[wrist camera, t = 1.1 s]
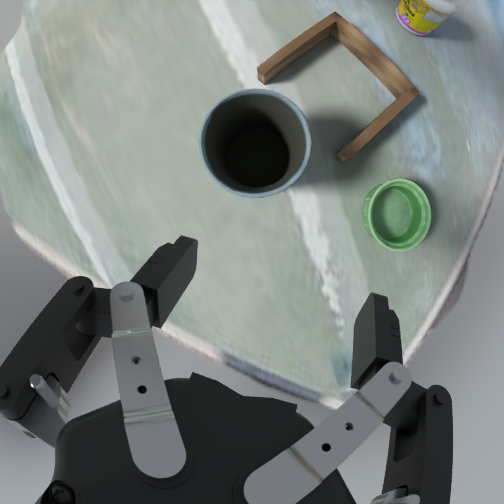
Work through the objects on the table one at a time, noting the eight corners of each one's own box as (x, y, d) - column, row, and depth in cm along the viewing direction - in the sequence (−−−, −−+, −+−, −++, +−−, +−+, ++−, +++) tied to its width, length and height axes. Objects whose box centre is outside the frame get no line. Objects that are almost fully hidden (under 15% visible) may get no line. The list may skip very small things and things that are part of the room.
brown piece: (257, 79, 35) (257, 67, 31) (329, 25, 33) (335, 11, 29) (341, 162, 37) (349, 158, 33) (407, 100, 35) (419, 93, 31)
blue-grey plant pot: (271, 211, 38) (275, 218, 27) (203, 171, 38) (176, 162, 26) (312, 144, 37) (332, 123, 25) (243, 105, 36) (234, 70, 24)
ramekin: (363, 172, 37) (375, 170, 33) (420, 188, 37) (436, 188, 33) (351, 239, 39) (361, 245, 34) (409, 251, 39) (423, 257, 34)
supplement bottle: (391, 0, 31) (421, -42, 18) (426, 11, 31) (461, -25, 18) (397, 31, 32) (433, -10, 20) (433, 42, 32) (474, 8, 20)
